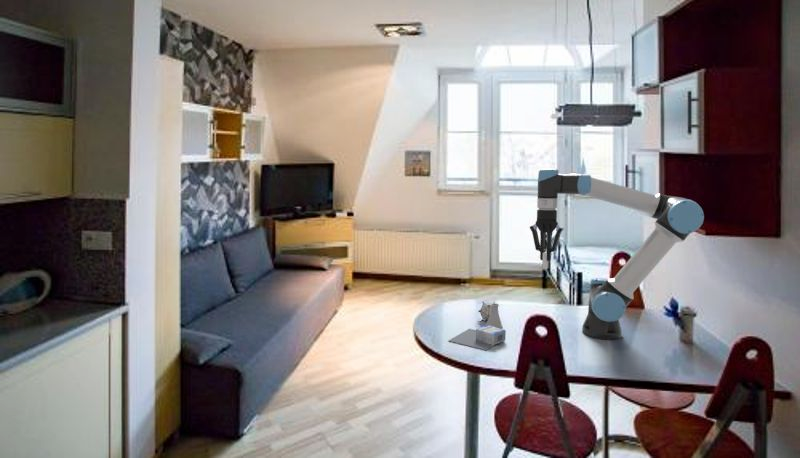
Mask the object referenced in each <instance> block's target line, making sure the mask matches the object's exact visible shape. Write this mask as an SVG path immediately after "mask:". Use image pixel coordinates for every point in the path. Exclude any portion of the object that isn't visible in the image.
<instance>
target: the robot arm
mask: <svg viewBox="0 0 800 458" xmlns="http://www.w3.org/2000/svg"><path fill="white" fill-rule="evenodd" d="M559 171H560V170H559V169H557V168H541V169H540V170H539V171H538V177H537V200H536V203H537V205H536V207H537V210H536V221H535V224H533V225H531V226H529V230H530V231H531V233H532V238H533V242H534V248H535V250H536V251H537V252H538V251H539V252H540V253H539V259H540V261H542V262H541V263H542V265H541V266H542V267H541V269H542V270H548V269H549V261H551V259H552V252H555V251H557V247H558V245H559V242H560V237H561V235H562V233H563V231H564V227H562V226H560V225H559V223H558V219H557V218H558V210H557V209H558V198H559V197H558V195H582V196H586V197H590V198H592V199H597V200H600V201H603V202H606V203H610V204H614V205H617V206H621V207H624V208H628V209H631V210H635V211H638V212H641V213H643V214H644V213H645V214H648V216H649V217H650V218H654V219H655V220H656V221H655V222H654V226H655V228H654V230H653V231H652V232H651V233H650V234H649V236H648V237H646V239H645V241H643V242H642V244H641V245H640V246H639V248H637V250H636V251H635V252H634V253H633V254H632V256H631V257H630V258H629V259H628V260H627V261H626V263H625V264H624V265H623V266H622V268H620V270H619V271H618V272H617V274H616V275H615V276H614V277H613V278H612V277H610V278H605V277H603V278H602V277H601V278H600V277H595V278H593V277H592V278H591V280H590V284H589V296H588V297H589V298H588V307H587V308H588V310H587V315H586V318H585V319H584V322H583V325H582V330H581V331H582V333H583V334H584V335H586V336H588V337H592V338H593V339H599V338H601V339H600V340H609V339H611V340H618V339H620V338H621V337H622V333H623V332H622V328H621V327H622V326H621V323H620V319H621V318H622V317H624V315H625V313H626V310H627V309H626V308H627V307H628V306H629V305H630V303H631V302H632V301H633V300H634V292H635V291H636V290H637V288H639V286H640V285H641V284H642V283H643V281H645V279H646V278H647V277H648V275H650V274H651V273H652V271H653V270H654V269H655V268H656V267H657V265H658V264H659V263H660V262H661V261H662V260H663V259H664V257H665V256H666V255H667V254H668V253H669V252H670V250H672V248H673V247H674V246H675V245H676V244H677V243H683V242H684V241H685V240H686V238H687V237H688V236H690V234H693V233H694V232H696V231H697V230H699V229H700V228H701V226H702V225H703V223H704V220H705V214H704V211H703V209H702V207H701V206H700V205H699V203H697V202H696V201H694V200H692V199H688V198H685V197H681V196H674V195H673V196H672V195H666V194H662V193H657V194H652V193H649V192H644V191H643V190H638V189H633V188H631V187H627V186H623V185H620V184H616V183H613V182H609V181H605V180H601V179H599V178H594V177H592V175H591V174H584V173H578V172H570V173H568V174H567V173H566V174H565V173H564V174H563V173H562V174H561V173H560V172H559ZM538 230H539V233H540V234H539V233H538ZM554 231H556V232H555V234H554V238H553V233H554ZM538 234H539V235H540V237H539V235H538ZM553 239H554V240H553ZM552 241H553V242H552ZM619 337H620V338H619ZM617 338H618V339H617Z"/></svg>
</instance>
